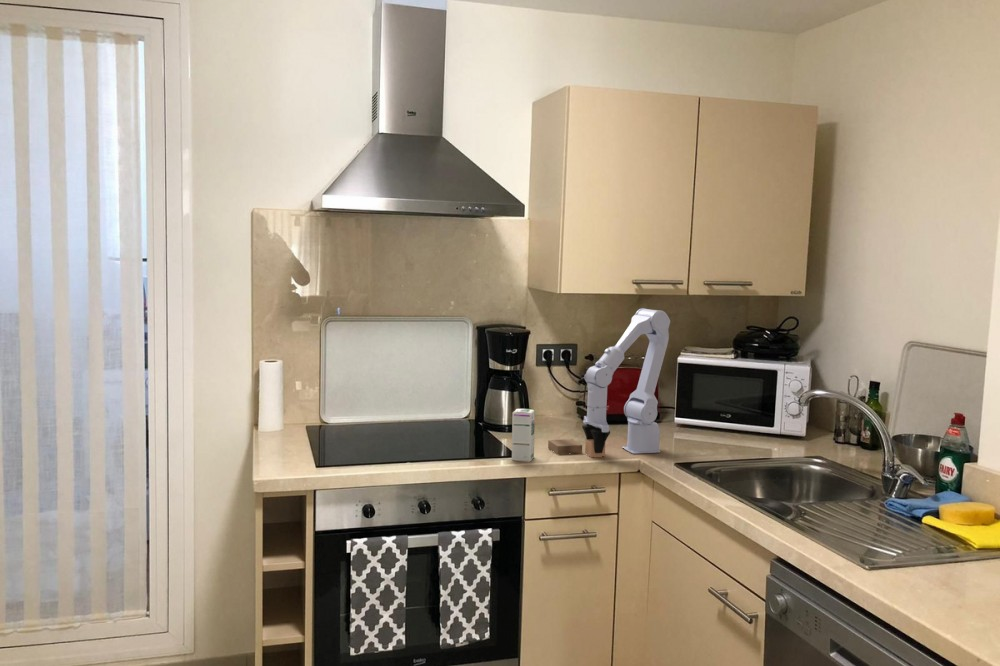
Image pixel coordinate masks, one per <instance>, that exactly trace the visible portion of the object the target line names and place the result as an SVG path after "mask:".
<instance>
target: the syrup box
mask: <svg viewBox="0 0 1000 666" xmlns="http://www.w3.org/2000/svg"><path fill="white" fill-rule="evenodd" d="M535 412H536V411H535V409H532V408H516V409H515V410H514V411H513V412H511V413H512V415H511V416H512V417H511V419H512V421H511V422H512V423H511V424H512V426H511V427H512V428H511V429H512V430H511V460H512V461H515V462H528V463H529V462H531V461H532V460H533V458H534V457H535Z"/></svg>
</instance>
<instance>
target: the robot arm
mask: <svg viewBox="0 0 1000 666" xmlns="http://www.w3.org/2000/svg"><path fill="white" fill-rule="evenodd" d="M670 324H671V319H670V318H669V315H668V314H667V313H666V312H665V311H664V310H658V309H648V308H645V307H644V308H643V307H642V308H639V309H638V310H637V311H636V312H635V314H634V315H633V316H632V317H631V320H630V324H629V325H628V326H627V328H626V330H625V331H624V333H623V334H622V335H621V337H620V338H619V340H618V341H617V343H616V344H615V345H613V346H608V348H606V349H605V350H604V351H603V352H604V353H603V354H602V356H600V358H599V359H598V360H597V361H596V362H595V363H594V364H595V365H592V366H590V367H589V368H588V369H586V373H585V374H584V381H585V382H586V385H587V386H586V387H587V403H586V404H587V405H586V406H587V408H586V410H587V411H586V415H584V416H583V420H582V423H583V425H582V426H581V428H582V429H583V433H584V435H585V438H586V439H593V440H594V451H595V453H602V451H603V448H604V445H605V446H606V442H607V439H608V437H609V435H611V430H610V425H609V424H608V422H607V403H608V402H607V400H608V386H609V385H610V384H611V383H612V380H613V375H614V372H616V370H617V369H618V368H619V366H620V365H621V364H622V362H623V361H624V360H625V353H626V351H628V350H629V349H630V347H631V346H632V345H633V344H634V343H635V341H636V340H637V339H638V338H639V337H641V335H645V336H646V337H647V339H648V341H649V343H648V346H647V350H646V353H645V357H644V359H643V360H644V361H643V364H642V368H641V372H640V374H639V380H638V383H637V386H636V389H635V390H634V391H633V392H631V393H630V394H629V398H628V400H627V401H626V402H625V404H624V406H623V414H624V416H625V417H626V419H627V441H626V442H627V443H626V445H624V446H622V448H621V449H623V448H624V450H626V451H627V452H629V453H630V454H633V455H635V454H654V453H655V454H656V453H661V450H660V438H661V429H660V426H659V424H658V423H657V422H655V420H656V419H657V416H658V404H659V401H658V399H657V397H656V396H655V392H656V388H657V384H658V380H659V377H660V373H661V369H662V366H663V362H664V359H665V355H666V351H667V348H668V343H669V339H670V333H669V328H670ZM584 424H585V425H584ZM586 439H585V440H586Z"/></svg>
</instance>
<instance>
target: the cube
mask: <svg viewBox="0 0 1000 666" xmlns="http://www.w3.org/2000/svg"><path fill="white" fill-rule="evenodd" d="M584 453H586V454H587V455H586V454H585V455H586V456H588V455H589V456H590V457H589V456H588V457H589V458H591V457H594V458H605V456H606V444H605V445H604V448H603V451H602V453H595V451H594V440H593V439H585V449H584ZM602 456H604V457H602Z"/></svg>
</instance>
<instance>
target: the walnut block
mask: <svg viewBox="0 0 1000 666" xmlns="http://www.w3.org/2000/svg"><path fill="white" fill-rule="evenodd" d="M547 441H548V442H547V443H548V446H547V449H548V448H549V449H548V450H549V451H551V450H552V451H551V452H553V451H554V452H555V453H554V452H553V453H554V454H556V455H557V454H563V455H570V454H569V453H582V454H583V444H581V443H580V442H578V441H576V440H575V439H573V438H567V439H548V440H547Z"/></svg>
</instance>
